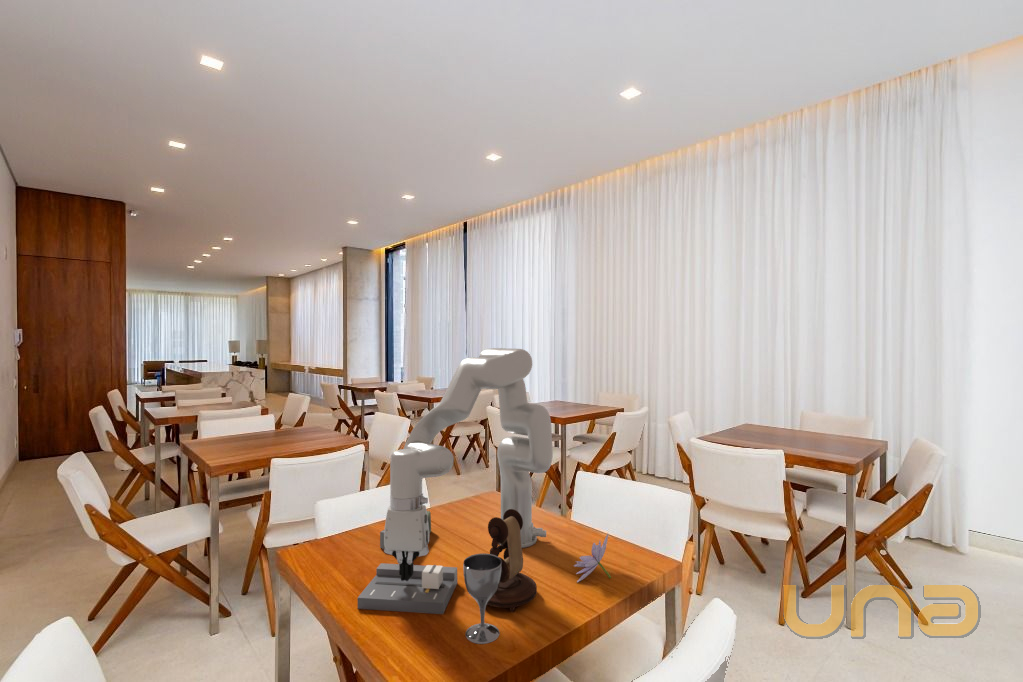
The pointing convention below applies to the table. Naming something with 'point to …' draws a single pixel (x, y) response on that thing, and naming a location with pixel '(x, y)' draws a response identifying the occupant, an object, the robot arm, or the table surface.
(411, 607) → the console
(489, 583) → the wine glass
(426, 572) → the fader knob
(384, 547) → the dice cube
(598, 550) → the water lily
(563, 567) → the table surface
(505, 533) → the scroll
